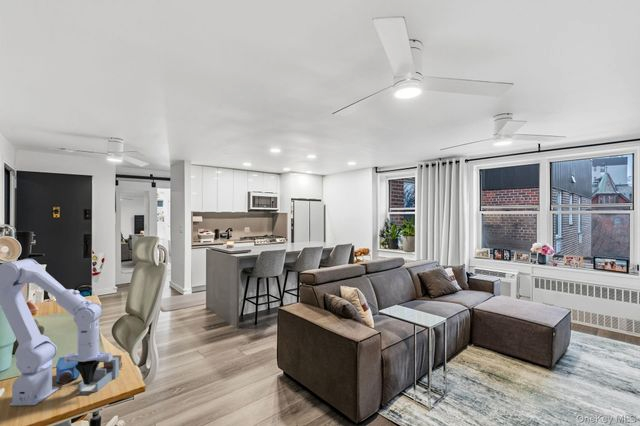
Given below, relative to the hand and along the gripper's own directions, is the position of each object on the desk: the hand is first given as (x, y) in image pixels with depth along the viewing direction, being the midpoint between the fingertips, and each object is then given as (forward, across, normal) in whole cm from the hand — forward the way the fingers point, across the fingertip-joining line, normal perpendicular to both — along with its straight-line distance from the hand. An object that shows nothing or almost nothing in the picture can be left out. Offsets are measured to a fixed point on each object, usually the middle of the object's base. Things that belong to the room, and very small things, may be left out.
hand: (88, 382), depth 104 cm
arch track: (+3, 0, -6) cm, 6 cm away
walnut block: (+2, 0, -13) cm, 13 cm away
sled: (+2, 0, -13) cm, 13 cm away
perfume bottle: (0, +15, -13) cm, 20 cm away
